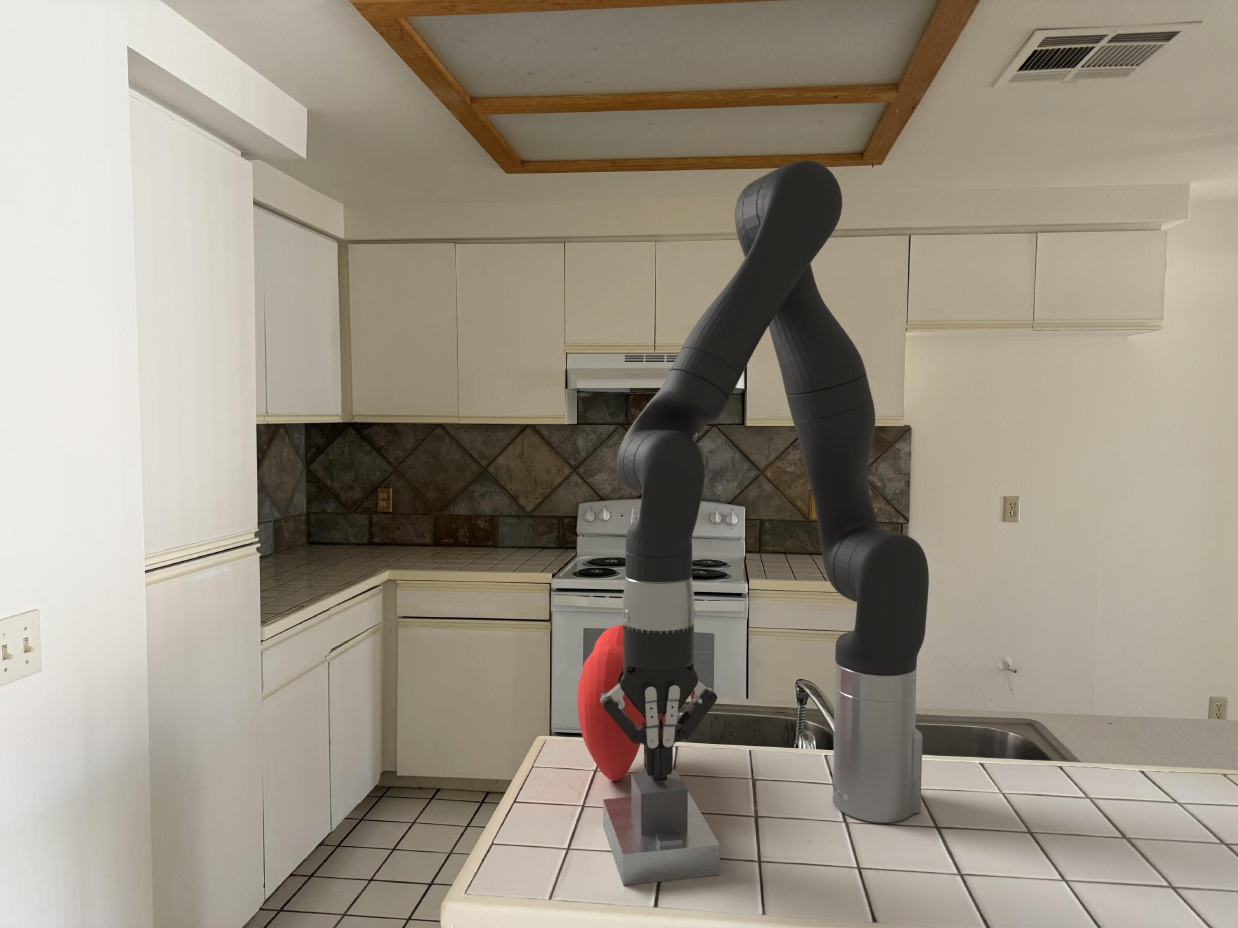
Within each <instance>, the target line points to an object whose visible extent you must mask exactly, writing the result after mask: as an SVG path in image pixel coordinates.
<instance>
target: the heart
mask: <svg viewBox="0 0 1238 928" xmlns="http://www.w3.org/2000/svg"><path fill="white" fill-rule="evenodd" d="M622 668H623V624H619V625H613V626H611V627H609V628H608V629H606V630H605V631H603V632H602V634H601V635H600V636H599V637H598V638H597V640H596V641H595V644H594V647H593V649H592V652H591V653H590V654H589V656H587V658H586V660H584V663H583V666H582V671H581V674H580V676H579V680H578V683H577V684H578V686H577V696H576V697H577V698H576V699H577V701H576V705H577V716H578V724H579V728H580V733H581V736H582V739H583V741H584V744H585V746H586V748H587V750H588V752H589V755H591V758H592V760H593V761H594V763H595V765H596V767H597V768H598V770H599V771H600V772H601V773H602V775H603V776H605V777H606V778H607V779H608V780H609V781H613V782H617V781H620V780H621V779H623V778H624V777H625V776H626V775H627V773H628V772H629V771H630V769H631V767H632V765H633V763H634V761H635V760H636V758H637V754H638V752H639V750H640V746H641V745H642V744H641V743H638V744H634V743H633V742H632V741H631V740H630V739H629V738H628V737H627V735H626V734H625V733H624V732H623V731H622V729H621V728H620V727H619V726H618V725H617V723H616V722H615V721H614V720H613V719H612V717H611V716H610V715H609V714H608V713H607V711H606V710H605V709H604V707H603V705H602V703H601V701H600V698H599V697H600V694H601V693H603V692H609V691H610V690H612V689H613V688H614V687H615V686H616V685H618V684H619V683H618V678H619V675H620V673H621V671H622ZM623 700H624V702H625V706H624V708H623V711H624V712H625V713H626V714H627V715H628V717H629V718H630V719H631V720H632V722H633V723H634V724H635V725H636V726H637V727H641V728H642V721H641V716H640V712H639V711H638V710H637V709H636V708H635V706H634V705H633V704H632V703H631V701H630V700H629V699H628V697H627V696H626V695H625V693H624V695H623Z"/></svg>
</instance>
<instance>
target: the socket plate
mask: <svg viewBox="0 0 1238 928" xmlns="http://www.w3.org/2000/svg"><path fill="white" fill-rule="evenodd" d="M697 805H698V804H696V802H695V800H694V798H693V797H692V795H691V794H690V792H689V791H688V830H685V831H675V832H665V833H655V834H644V835H641V834H640V831H639V829H638V827H637V824H636V822H635V819H634V817H633V815H632V812H631V796H624V797H612V798H603V799H602V828H603V831H604V833H605V836H606V839H607V842H608V845H609V847H610V851H611V853H612V854H611V855H612V856H613V858H614V859H613V860H614V862H615V865H616V868H617V871H618V874H619V877H620V881H621V883H622V885H623V886H627V885H628V886H630V885H638V884H639V885H640V884H648V883H656V882H657V883H658V882H667V881H675V880H676V881H677V880H685V879H694V878H704V877H713V876H720V873H721V872H720V871H721V870H720V866H721V865H720V864H721V863H720V860H721V859H720V857H721V856H720V851H721V850H720V849H721V847H720V846H721V845H720V843H719V841H718V839H717V838H716V835H715V834H714V833H713V831H712V829H711V828H710V826H709V824H708V822H707V821H706V819H705V817H704V815H703V814H702V812H701V810H700V809H699V807H698V806H697Z"/></svg>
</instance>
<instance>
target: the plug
mask: <svg viewBox="0 0 1238 928" xmlns="http://www.w3.org/2000/svg"><path fill="white" fill-rule="evenodd" d="M630 776H631V777H630V779H631V780H630V781H631V784H630V786H631V788H630V789H631V796H630V797H631V812H632V815H633V817H634V819H635V822H636V824H637V827H638V829H639V831H640V834H641V835H644V834H655V833H665V832H675V831H685V830H688V792H689V790H688V787H687V785H685V782H684V781H683V779H682V777H681V776H680V774H679V773H678V771H677V769H673V770H672V772H671V774H668V775H667V780H662V781H653V780H652V778H651V776H648V774H647V772H646V771H641V772H640V771H639V772H632V773H631V775H630Z"/></svg>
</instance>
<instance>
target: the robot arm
mask: <svg viewBox="0 0 1238 928" xmlns="http://www.w3.org/2000/svg"><path fill="white" fill-rule="evenodd" d="M735 204H736V205H735V208H734V224H735V230H736V235H737V237H738V242H739V244H740V245H739V246H740V247H741V250H742V254H743V255H744V260H743V262H742V263H741V265H740V266H739V268H738V269H737V270H736V272H735V273H734V274H733V276H732V277H731V279H730V280H729V282H728V283H727V285H726V286H725V287H724V288H723V289H722V290H721V292H720V293H719V294H718V296H716V298H715V299H714V300H713V301H712V303H711V304H710V306H708V308H707V309H706V310H705V311H704V312H703V313H702V315H701V317H700V318H699V320H697V322H696V324H695V325H694V327H693V328H692V329H691V331H690V333H689V334H688V336H687V338H686V339H685V341H684V343H683V345H682V347H681V348H680V349H679V352H678V354H677V355H676V358H675V360H674V362H673V364H672V366H671V368H670V369H669V372H668V374H667V375H666V377H665V380H664V382H663V384H662V386H661V388H660V389H659V390H658V391H657V392H656V393H655V394H654V396H653V397H652V398H651V399H650V401H649V402H647V404H646V406H645V407H644V408H643V410H642V411H641V412H640V414H639V415H638V416H637V417H636V419H635V420H634V421H633V423H632V424H631V425H630V427H629V429H628V430H627V432H626V434H625V435H624V437H623V439H622V441H621V443H620V446H619V450H618V453H617V456H616V457H617V459H616V469H617V473H618V477H619V478H620V481H621V482H622V483H623V484H624V485H625V487H627V488H628V489H629V490H631V491H633V492H635V493H638V494H641V503H640V509H639V514H638V515H639V516H638V520H636V521H634V522H633V523H632V524H630V525H629V527H628V528H627V530H626V531H627V532H626V536H625V577H624V578H625V580H624V581H625V583H624V588H623V589H624V590H623V597H622V598H623V599H622V604H623V605H622V625H623V668H622V671H621V673H620V675H619V678H618V683H619V684H618V685H616V686H615V687H614V688H613V689H612V690H610V691H609V692H603V693H601V694H600V697H599V698H600V701H601V703H602V705H603V707H604V709H605V710H606V711H607V713H608V714H609V715H610V716H611V717H612V719H613V720H614V721H615V722H616V723H617V725H618V726H619V727H620V728H621V729H622V731H623V732H624V733H625V734H626V735H627V737H628V738H629V739H630V740H631V741H632V742H633V743H634V744H638V743H641V744H640V745H643V767H644V770H645V772H647V774H648V776H651V778H652V780H653V781H662V780H667V775H668V774H671V772H672V770H674V768H673V767H674V766H673V763H674V762H673V761H674V760H673V757H674V756H673V755H674V754H673V753H674V751H673V750H674V746H675V744H676V743H677V742H678V741H679V742H680V741H682V740H683V741H686V740H688V739H689V738H690V737H691V736H692V734H693V733H694V732H695V730H696V729H697V728H698V726H700V724H701V722H702V721H703V720H704V719H705V717H706V715H708V713H709V712H710V710H711V709H712V707H713V706H714V705H715V703H716V702H717V700H718V696H717V693H715V691H714V690H713V689H712V688H711V687H710V686H709V685H708V684H707V685H705V684H703V683H702V682H700V681H699V675H698V673H697V671H696V669H695V618H696V608H695V595H694V594H695V592H694V586H693V543H692V542H693V534H694V530H695V528H696V524H697V521H698V517H699V512H700V511H699V510H700V506H701V503H702V502H701V501H702V497H703V493H704V489H705V473H706V472H705V470H706V469H705V462H704V458H703V454H702V451H701V448H700V446H699V445H698V443H697V442H696V441H695V440H694V438H695V436H696V434H697V433H698V432H699V431H700V429H701V428H703V427H705V426H707V425H709V424H712V423H714V422H715V421H716V420H718V419H719V418H720V416H721V415H722V414H723V412H724V410H725V409H726V407H727V404H728V402H730V399H731V396H732V395H733V393H734V391H735V389H736V387H737V386H738V383H739V381H740V380H741V377H742V375H743V374H744V373H745V370H746V367H747V366H748V363H749V361H750V359H751V358H752V356H753V354H754V352H755V350H756V348H757V346H758V345H759V343H760V341H761V340H762V338H763V336H764V334H765V332H766V331H767V329H768V328H769V333H770V337H771V340H772V341H771V342H772V344H773V348H774V350H775V354H776V355H775V356H776V358H777V359H776V360H777V361H778V365H779V368H780V374H781V378H782V382H783V387H784V392H785V394H786V395H785V396H786V399H787V403H788V409H789V411H790V412H789V413H790V416H791V419H792V422H793V426H794V429H795V433H796V435H797V439H798V444H799V446H800V450H801V455H802V459H803V463H804V467H805V470H806V475H807V479H808V481H809V486H810V490H811V492H812V498H813V503H814V508H815V514H816V522H817V530H818V535H819V542H820V549H821V555H822V561H823V565H824V566H823V567H824V571H825V573H826V576H827V578H828V581H829V583H830V585H831V586H832V587H833V589H834V590H836V592H837V593H838V594H839V595H840V596H842V597H844V598H846V599H847V600H850V601H852V602H855V603H856V609H855V610H856V612H855V613H856V614H855V621H854V629H853V630H852V631H847V632H845V633H842V634H841V635H839V636H838V638H837V639H836V641H835V650H834V651H835V653H834V655H835V657H834V658H835V659H834V660H835V661H834V716H833V719H834V720H833V769H832V770H833V773H832V774H833V775H832V777H833V778H832V802H833V804H834V806H835V807H836V808H837V809H838V810H839V811H840V812H842V813H844V814H845V815H848V816H849V817H852V818H855V819H858V820H862V821H866V822H870V823H871V822H872V823H883V824H884V823H887V824H888V823H896V822H901V821H905V819H907V818H909V817H911V815H913V814H920V813H921V811H922V810H921V808H922V772H923V768H922V767H923V733H922V732H921V731H920V730H918V729H917V728H916V710H917V709H916V707H917V668H918V667H917V665H918V662H917V661H918V656H919V653H920V650H921V648H922V647H923V645H924V644H923V643H924V640H925V636H926V627H927V615H928V614H927V612H928V601H929V600H928V599H929V589H930V587H929V585H930V584H929V583H930V575H929V574H930V573H929V572H930V571H929V564H928V559H927V556H926V553H925V551H924V549H923V548H922V546H921V544H920V543H918V541H917V540H915V538H913V537H910V536H909V535H906V534H903V533H900V532H896V531H892V530H889V529H888V530H887V529H884V528H881V526H880V524H879V521H878V518H877V516H876V511H875V508H874V505H873V502H872V501H873V500H872V497H871V493H870V487H869V481H868V468H869V463H870V462H869V461H870V456H871V452H872V448H873V443H874V437H875V430H876V411H875V405H874V400H873V396H872V392H871V391H872V390H871V387H870V383H869V380H868V379H869V378H868V375H867V371H866V367H865V364H864V361H863V359H862V355H861V354H860V352H859V350H858V348H857V347H856V345H855V343H854V342H853V340H852V339H851V338H850V336H849V334H847V332H846V331H845V330H844V328H843V326H842V325H841V323H839V322H838V320H837V318H836V317H835V316H834V315H833V314H832V312H831V310H830V309H829V307H828V306H827V305H826V303H825V301H824V300H823V297H822V296H821V294H820V291H819V288H818V286H817V283H816V279H815V276H814V275H815V274H814V272H813V269H812V265H811V263H812V262H813V260H814V259H815V258H816V256H817V255H818V254H819V252H820V251H821V249H822V248H823V247H824V246H825V244H826V243H827V241H828V240H829V238H831V236H832V234H833V232H834V231H835V230H836V228H837V226H838V223H839V221H840V219H841V215H842V209H843V194H842V190H841V187H840V184H839V182H838V180H837V178H836V177H835V175H834V174H833V173H832V171H831V170H830V169H829V168H828V167H826V166H825V165H823V164H821V163H819V162H817V161H814V160H813V161H812V160H799V161H792V162H790V163H789V164H788V163H787V164H785V165H783V166H781V167H778V168H777V169H774V170H773V171H770V172H769V173H767V174H764V175H763V176H760V177H759V178H757V179H755V180H753V181H752V182H750V183H749V184H747V185H746V186H745V187H744V188H743V189H742V191H741V192H740V194H739V195H738V199H737V201H736V203H735ZM624 693H625V695H626V696H627V697H628V699H629V700H630V701H631V703H632V704H633V705H634V706H635V708H636V709H637V710H638V711H639V712H640V716H641V721H642V728H641V727H637V726H636V725H635V724H634V723H633V722H632V720H631V719H630V718H629V717H628V715H627V714H626V713H625V712H624V711H623V708H624V706H625V702H624V700H623V695H624ZM689 697H690V698H691V700H690V701H689V704H688V705H687V706H686V708H685V709H683V711H682V713H681V714H680V715H679V717H678V712H679V711H680V710H681V708H683V706H684V705H685V703H686V702H687V700H688V698H689Z"/></svg>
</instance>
